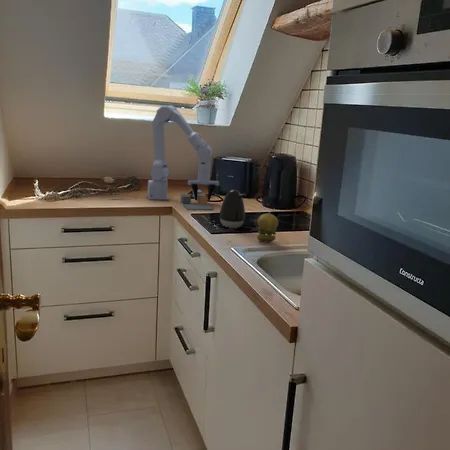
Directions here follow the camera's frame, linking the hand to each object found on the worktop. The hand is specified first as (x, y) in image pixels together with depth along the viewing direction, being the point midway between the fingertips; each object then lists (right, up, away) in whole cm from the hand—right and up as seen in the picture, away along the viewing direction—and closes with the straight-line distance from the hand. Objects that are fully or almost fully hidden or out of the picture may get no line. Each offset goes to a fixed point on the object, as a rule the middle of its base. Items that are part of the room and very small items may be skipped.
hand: (202, 200), depth 231 cm
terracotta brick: (0, -2, 0) cm, 2 cm away
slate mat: (-2, -4, -9) cm, 10 cm away
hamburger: (+26, -18, -54) cm, 63 cm away
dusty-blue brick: (-3, +1, +11) cm, 11 cm away
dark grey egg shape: (+13, -13, -37) cm, 41 cm away
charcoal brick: (-8, -2, -2) cm, 8 cm away
